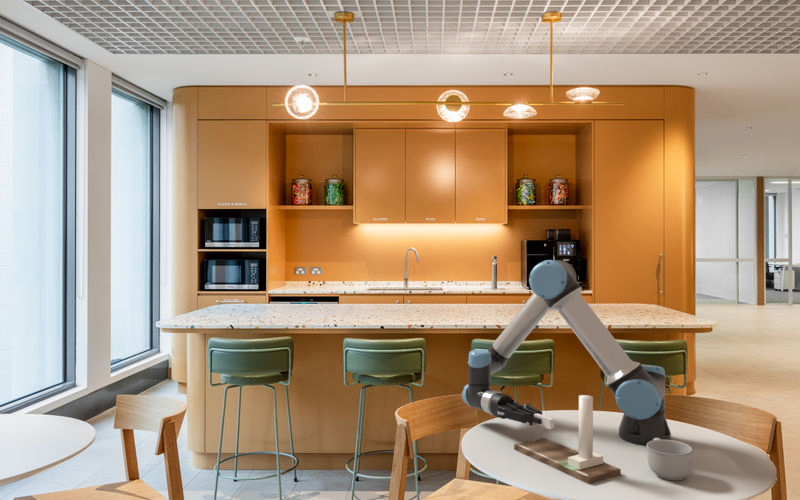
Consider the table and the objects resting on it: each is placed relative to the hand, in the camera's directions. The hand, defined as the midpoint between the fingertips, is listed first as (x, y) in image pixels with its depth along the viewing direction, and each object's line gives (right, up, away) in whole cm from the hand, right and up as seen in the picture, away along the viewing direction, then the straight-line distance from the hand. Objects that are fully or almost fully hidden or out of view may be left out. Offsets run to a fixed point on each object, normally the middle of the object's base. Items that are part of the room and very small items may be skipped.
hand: (551, 424), depth 160 cm
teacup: (+27, -9, -12) cm, 31 cm away
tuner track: (+2, -9, -4) cm, 10 cm away
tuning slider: (+6, -7, -11) cm, 14 cm away
